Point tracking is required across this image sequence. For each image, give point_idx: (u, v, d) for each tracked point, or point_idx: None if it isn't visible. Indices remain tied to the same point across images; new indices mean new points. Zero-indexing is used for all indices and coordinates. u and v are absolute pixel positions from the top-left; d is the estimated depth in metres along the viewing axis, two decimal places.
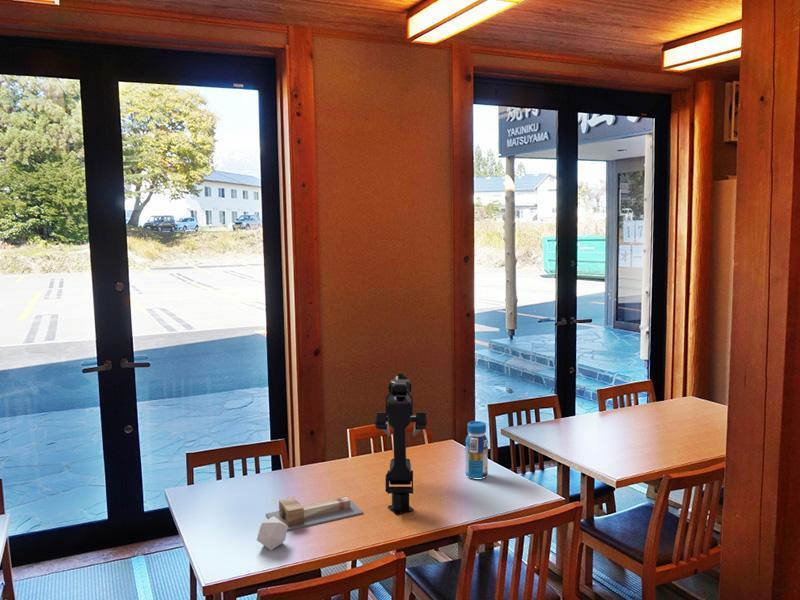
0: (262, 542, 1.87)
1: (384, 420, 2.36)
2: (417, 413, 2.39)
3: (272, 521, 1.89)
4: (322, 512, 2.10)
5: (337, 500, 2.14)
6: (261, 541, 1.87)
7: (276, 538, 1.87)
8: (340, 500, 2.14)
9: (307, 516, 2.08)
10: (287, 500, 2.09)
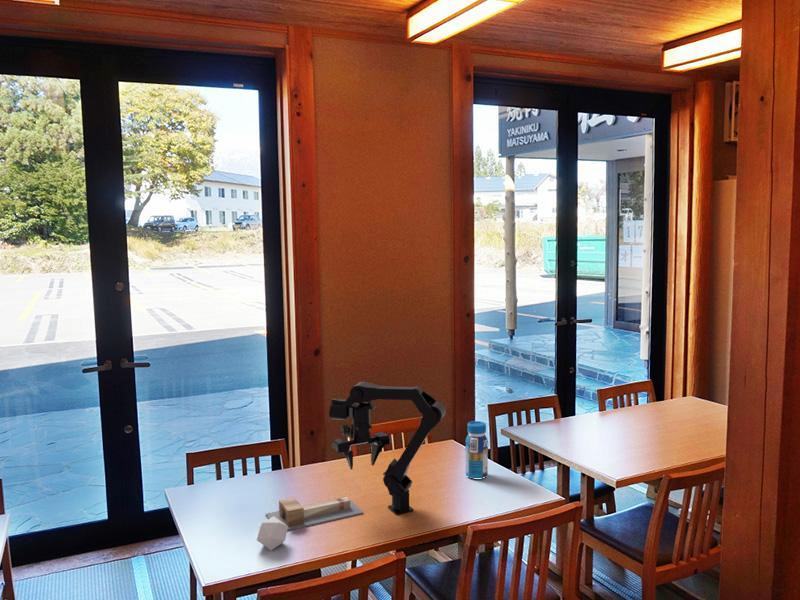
0: (262, 542, 1.87)
1: (346, 441, 2.11)
2: (375, 433, 2.20)
3: (272, 521, 1.89)
4: (322, 512, 2.10)
5: (337, 500, 2.14)
6: (261, 541, 1.87)
7: (276, 538, 1.87)
8: (340, 500, 2.14)
9: (307, 516, 2.08)
10: (287, 500, 2.09)
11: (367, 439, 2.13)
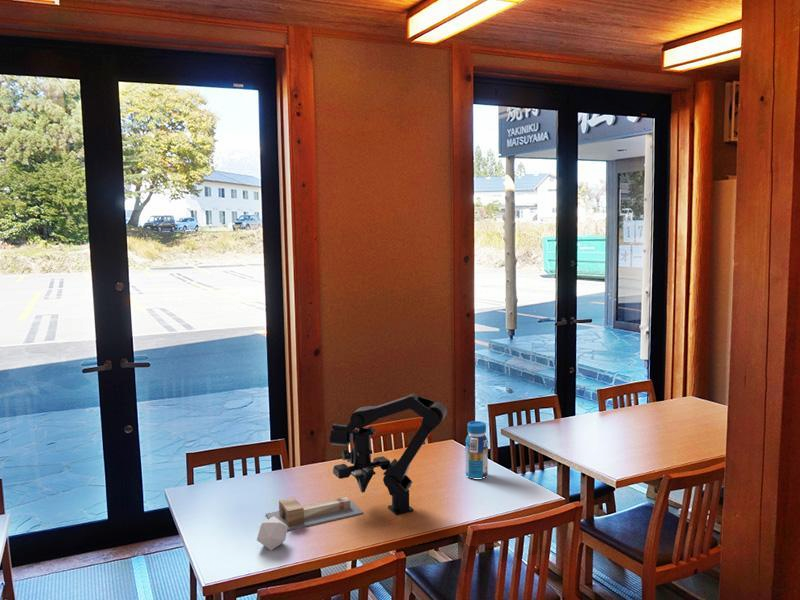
0: (262, 542, 1.87)
1: (347, 467, 2.12)
2: (376, 458, 2.21)
3: (272, 521, 1.89)
4: (322, 512, 2.10)
5: (337, 500, 2.14)
6: (261, 541, 1.87)
7: (276, 538, 1.87)
8: (340, 500, 2.14)
9: (307, 516, 2.08)
10: (287, 500, 2.09)
11: (368, 464, 2.14)
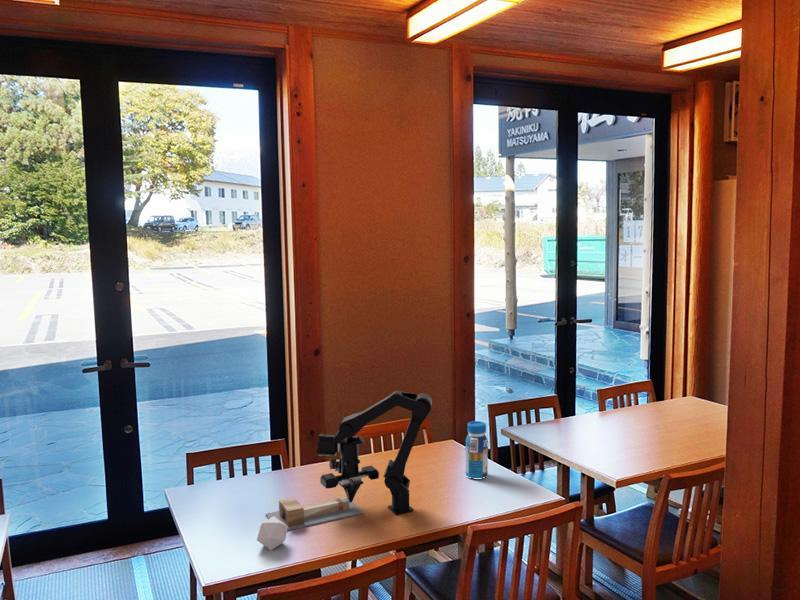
0: (262, 542, 1.87)
1: (334, 477, 2.11)
2: (364, 467, 2.19)
3: (272, 521, 1.89)
4: (321, 512, 2.10)
5: (336, 500, 2.14)
6: (261, 541, 1.87)
7: (276, 538, 1.87)
8: (339, 500, 2.14)
9: (306, 516, 2.07)
10: (287, 500, 2.09)
11: (355, 474, 2.13)
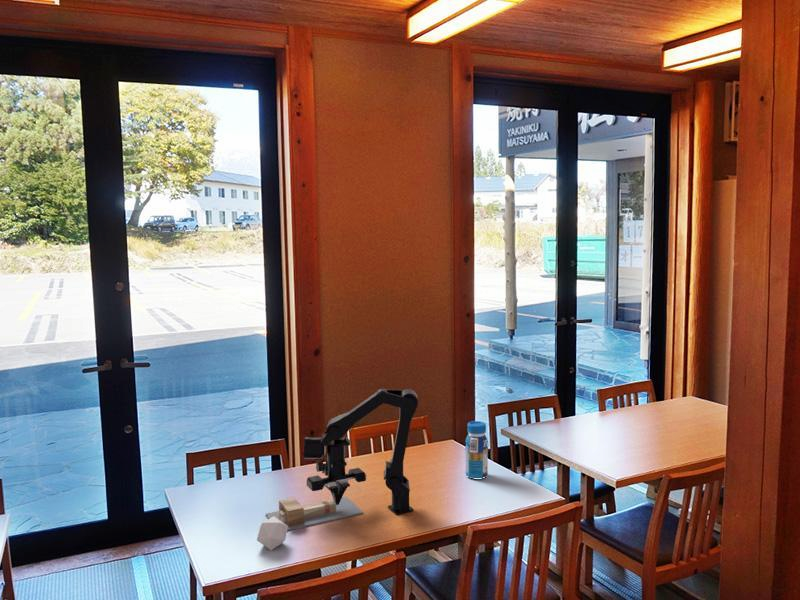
0: (262, 542, 1.87)
1: (320, 479, 2.08)
2: (351, 469, 2.17)
3: (272, 521, 1.89)
4: (307, 515, 2.08)
5: (323, 503, 2.11)
6: (261, 541, 1.87)
7: (276, 538, 1.87)
8: (326, 503, 2.11)
9: None
10: (287, 500, 2.09)
11: (342, 476, 2.10)
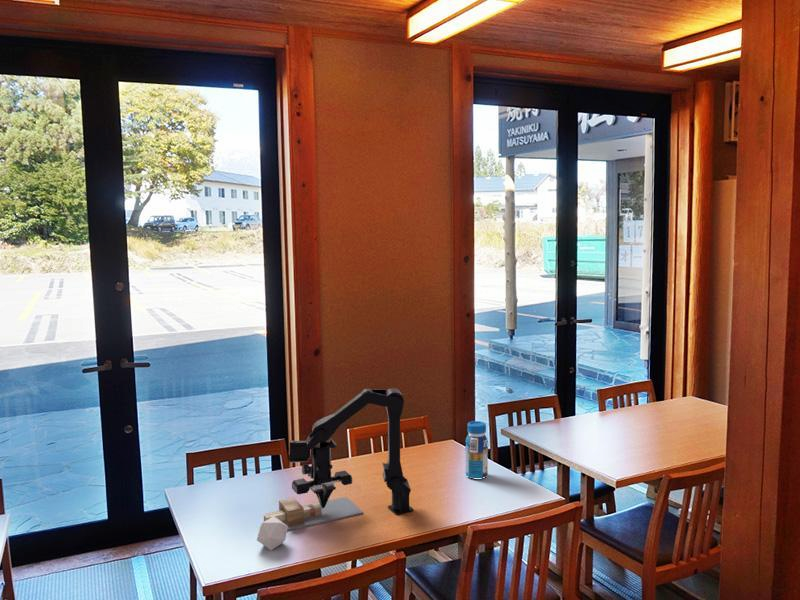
0: (262, 542, 1.87)
1: (306, 482, 2.06)
2: (337, 472, 2.14)
3: (272, 521, 1.89)
4: None
5: (308, 506, 2.09)
6: (261, 541, 1.87)
7: (276, 538, 1.87)
8: (311, 506, 2.09)
9: None
10: (287, 500, 2.09)
11: (327, 479, 2.08)
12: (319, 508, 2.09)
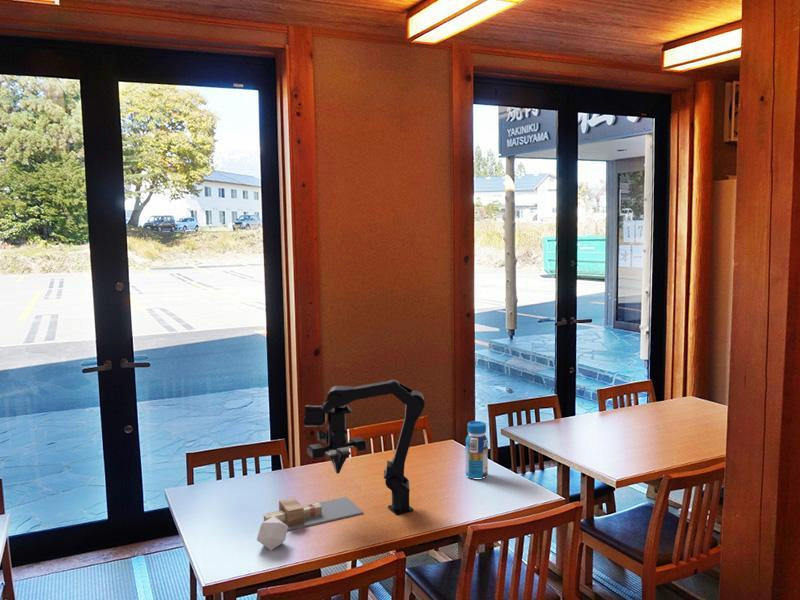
0: (262, 542, 1.87)
1: (321, 447, 2.07)
2: (352, 438, 2.16)
3: (272, 521, 1.89)
4: None
5: (308, 506, 2.09)
6: (261, 541, 1.87)
7: (276, 538, 1.87)
8: (311, 506, 2.09)
9: None
10: (287, 500, 2.09)
11: (343, 444, 2.09)
12: (319, 508, 2.09)
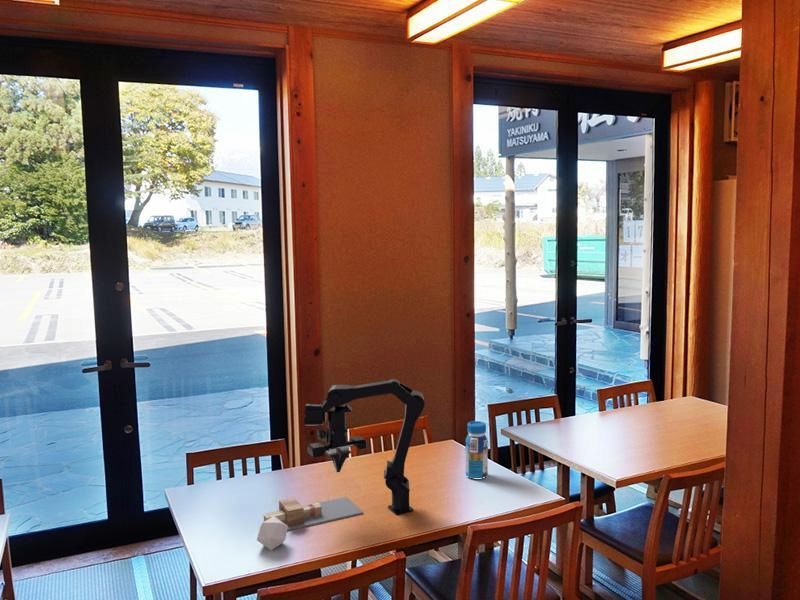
0: (262, 542, 1.87)
1: (321, 446, 2.07)
2: (352, 437, 2.16)
3: (272, 521, 1.89)
4: None
5: (308, 506, 2.09)
6: (261, 541, 1.87)
7: (276, 538, 1.87)
8: (311, 506, 2.09)
9: None
10: (287, 500, 2.09)
11: (343, 443, 2.09)
12: (319, 508, 2.09)
